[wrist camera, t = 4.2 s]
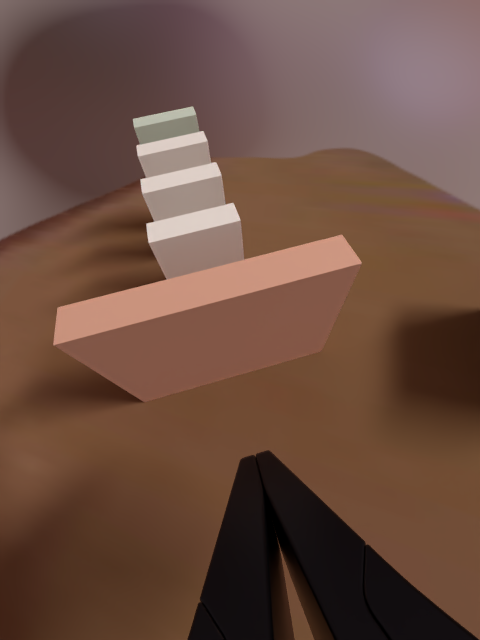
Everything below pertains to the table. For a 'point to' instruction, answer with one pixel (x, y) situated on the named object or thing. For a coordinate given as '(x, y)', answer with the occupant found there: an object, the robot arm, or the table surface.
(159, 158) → the ivory domino
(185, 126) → the sage domino
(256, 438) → the table surface
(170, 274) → the ivory domino
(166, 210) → the ivory domino
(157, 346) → the terracotta tile
